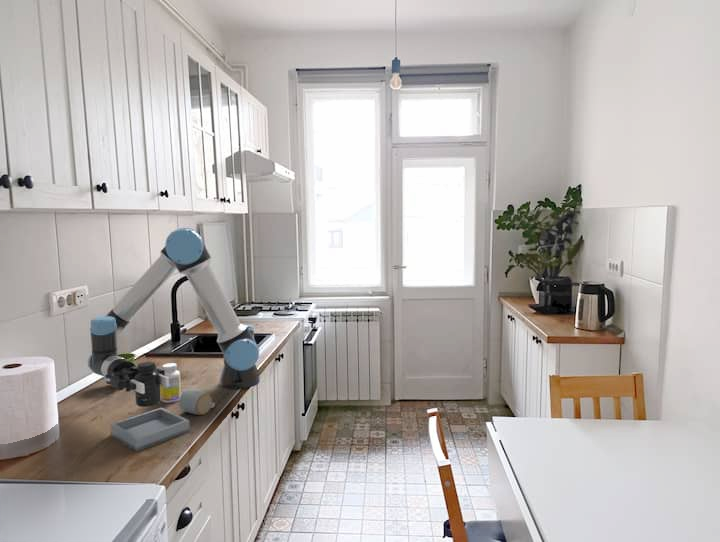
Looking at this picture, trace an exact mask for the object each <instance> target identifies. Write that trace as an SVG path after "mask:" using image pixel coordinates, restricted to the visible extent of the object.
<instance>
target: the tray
mask: <svg viewBox="0 0 720 542" xmlns="http://www.w3.org/2000/svg"><path fill="white" fill-rule="evenodd" d="M109 425H110V436H111V437H112V438H114V439H115V440H117V441H119V442H121V443H122V442H123V443H122V444H123V445H126V446H127V447H129V448H130V449H131V450H133V451H135V452H140V451H142V450H145V449H148V448H150V447H153V446H155V445H158V444H160V443H164V442H166V441H168V439H169V440H171V439H173V438H176V437H179V436H181V434H182V435H184V434H186V432H187V433H189V432H190V430H191V429H190V420H189V419H188V418H185V417H182V416H181V415H179V414H176V413H175V412H173V411H170V410H168V409H166V408H163V407H159V408H157V409H156V408H155V409H153V410H150V411H146V412H144V413H141V414H137V415H134V416H132V417H127V418H125V419H121V420H119V421H116V422H112V423H110V424H109ZM183 433H184V434H183Z"/></svg>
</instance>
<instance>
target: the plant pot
mask: <svg viewBox="0 0 720 542" xmlns="http://www.w3.org/2000/svg"><path fill="white" fill-rule="evenodd" d="M118 356H119V357H122V358H124V359H127V360H129V361H131V362H133V363H134V364H135V358H136V357H137V354H136V353H133V352H123V353H122V352H121V353H118ZM130 382H131V380H130ZM109 385H110V387H111V388H114V389H116V388H115V387H114V386H112V385H111V384H109Z"/></svg>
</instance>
